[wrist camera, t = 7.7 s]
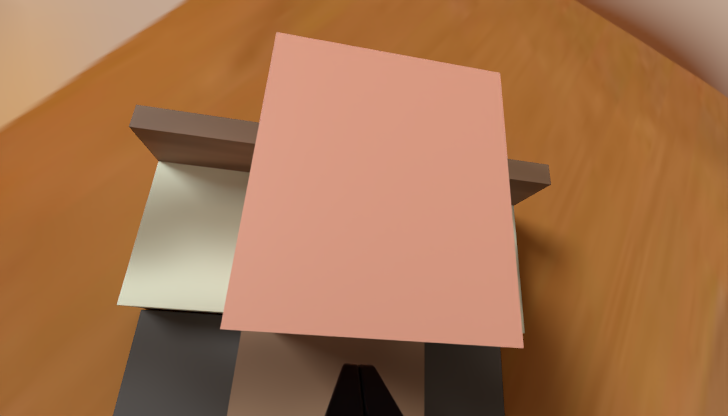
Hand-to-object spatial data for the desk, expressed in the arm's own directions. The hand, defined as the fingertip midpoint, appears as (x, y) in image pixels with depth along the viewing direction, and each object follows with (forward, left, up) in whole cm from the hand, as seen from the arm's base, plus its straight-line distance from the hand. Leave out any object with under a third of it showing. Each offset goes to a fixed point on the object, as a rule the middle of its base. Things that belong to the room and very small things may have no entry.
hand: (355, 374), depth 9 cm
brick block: (+4, -2, -6) cm, 7 cm away
